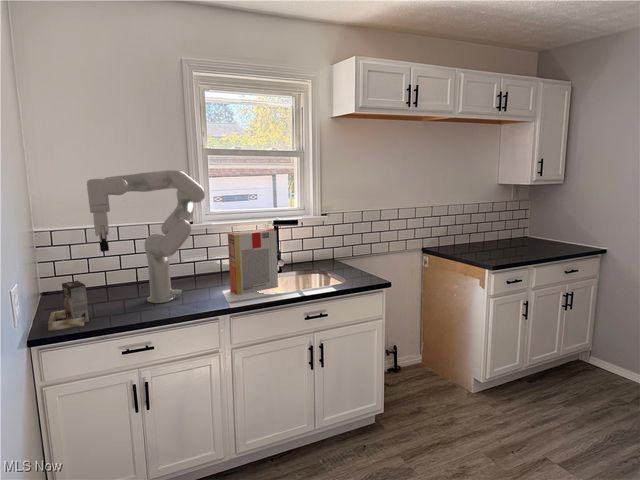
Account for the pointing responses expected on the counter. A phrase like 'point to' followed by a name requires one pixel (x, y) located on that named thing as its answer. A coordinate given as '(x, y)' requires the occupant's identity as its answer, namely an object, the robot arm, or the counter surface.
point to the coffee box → (75, 300)
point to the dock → (63, 321)
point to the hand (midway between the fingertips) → (104, 250)
